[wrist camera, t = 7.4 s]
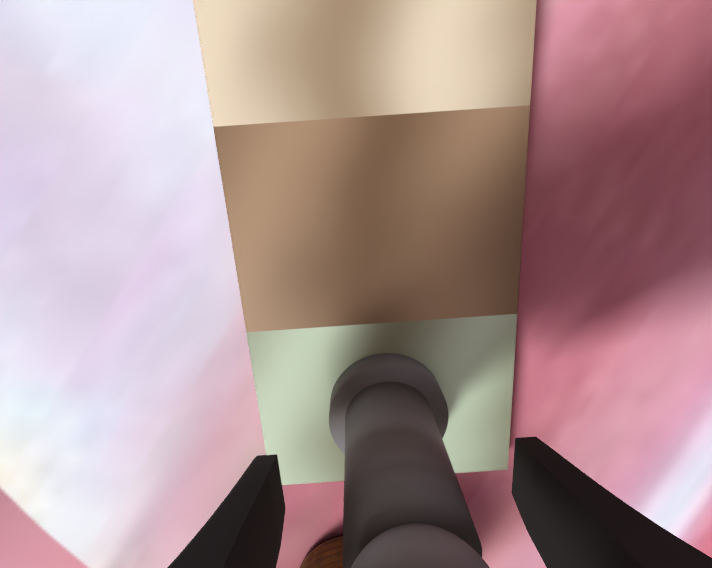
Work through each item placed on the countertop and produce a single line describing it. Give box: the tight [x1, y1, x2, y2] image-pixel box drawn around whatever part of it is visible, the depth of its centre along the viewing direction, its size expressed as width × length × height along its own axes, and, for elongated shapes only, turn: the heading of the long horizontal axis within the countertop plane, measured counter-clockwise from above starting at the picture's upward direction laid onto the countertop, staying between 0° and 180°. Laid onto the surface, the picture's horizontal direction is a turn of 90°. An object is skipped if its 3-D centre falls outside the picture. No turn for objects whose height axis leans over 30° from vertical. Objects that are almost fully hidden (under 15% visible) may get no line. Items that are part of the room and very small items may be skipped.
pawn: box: [329, 353, 489, 568], centre depth 9 cm, size 4×4×9 cm
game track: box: [193, 0, 537, 485], centre depth 12 cm, size 10×21×1 cm, turn 4°
